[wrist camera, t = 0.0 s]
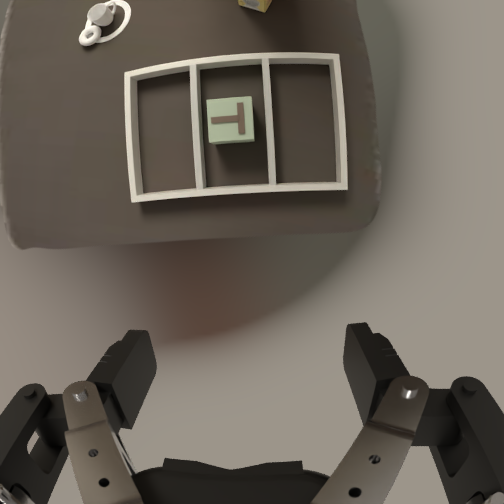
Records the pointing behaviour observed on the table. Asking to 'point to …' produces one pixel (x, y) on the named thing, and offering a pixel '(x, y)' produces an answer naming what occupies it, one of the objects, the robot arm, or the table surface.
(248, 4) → the candy box
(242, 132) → the letter cube
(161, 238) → the table surface
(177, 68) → the organizer
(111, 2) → the teacup and saucer
